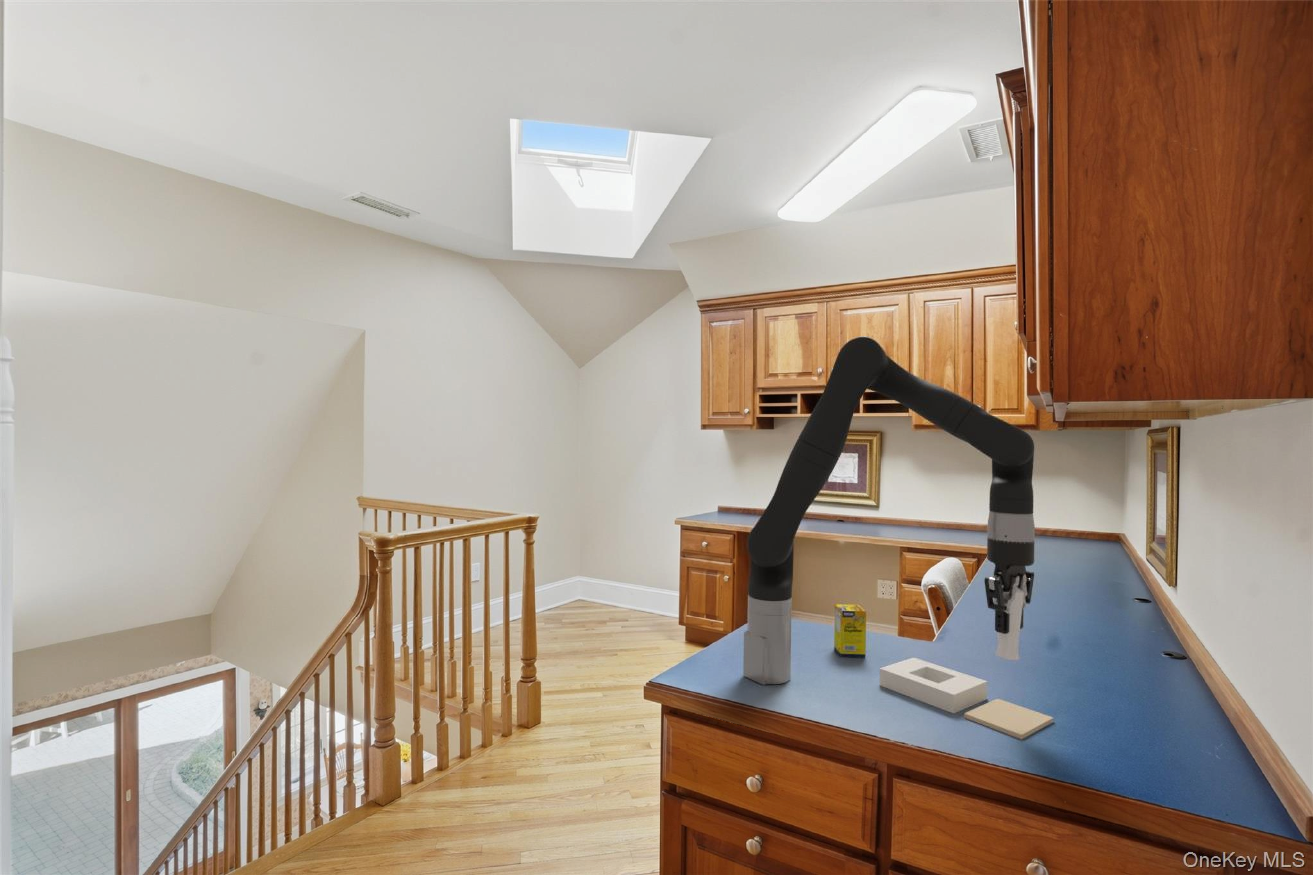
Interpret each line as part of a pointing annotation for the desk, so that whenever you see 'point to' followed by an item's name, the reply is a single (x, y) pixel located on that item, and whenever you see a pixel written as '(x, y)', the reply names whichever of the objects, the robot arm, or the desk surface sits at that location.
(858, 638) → the supplement box
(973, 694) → the rectangular block
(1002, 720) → the mat
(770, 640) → the robot arm
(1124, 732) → the desk surface
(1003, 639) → the perfume bottle
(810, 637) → the desk surface
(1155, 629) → the desk surface
